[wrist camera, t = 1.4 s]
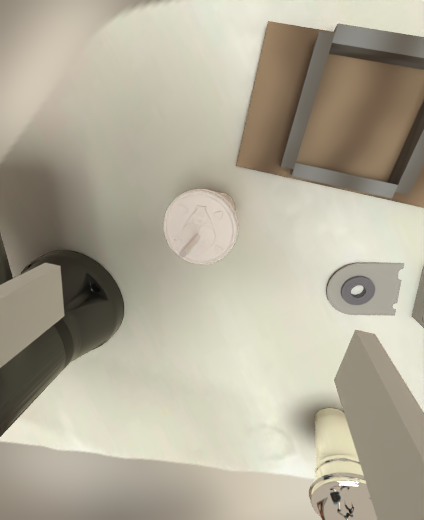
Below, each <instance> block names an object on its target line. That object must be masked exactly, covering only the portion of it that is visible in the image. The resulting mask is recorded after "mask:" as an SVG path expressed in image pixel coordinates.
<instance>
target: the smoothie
mask: <svg viewBox="0 0 424 520" xmlns="http://www.w3.org/2000/svg"><path fill="white" fill-rule="evenodd" d="M238 227H239V223H238V219H237V215H236V212H235V205H234V202H233V200H232V198H231V197H230V196H229V195H227V194H225V193H222V192H214V191H211V190H207V189H193V190H189V191H186V192H184V193H183V194H181V195H179V196H178V197H177V198H176V199H174V200H173V201H172V203H171V204H170V205H169V207H168V208H167V210H166V213H165V216H164V220H163V230H164V235H165V238H166V241H167V243H168V245H169V246H170V248H171V249H172V250H173V251H174V253H175V254H177V255H178V256H179V257H180V258H182V259H183V260H185V261H187V262H190V263H193V264H199V265H206V264H212V263H215V262H217V261H219V260H221V259H222V258H224V257H225V256H226V255H227V254H228V253H229V252H230V250H231V249H232V247H233V246H234V244H235V243H236V239H237V236H238Z"/></svg>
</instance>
